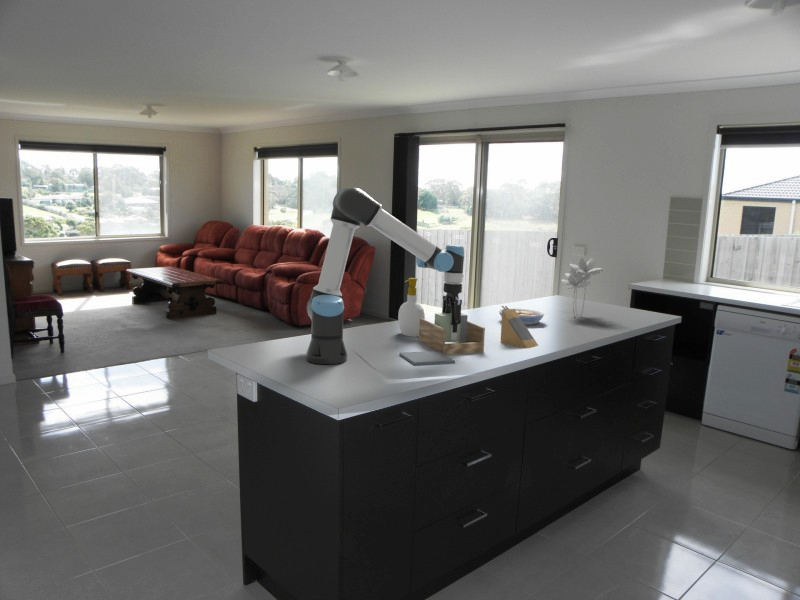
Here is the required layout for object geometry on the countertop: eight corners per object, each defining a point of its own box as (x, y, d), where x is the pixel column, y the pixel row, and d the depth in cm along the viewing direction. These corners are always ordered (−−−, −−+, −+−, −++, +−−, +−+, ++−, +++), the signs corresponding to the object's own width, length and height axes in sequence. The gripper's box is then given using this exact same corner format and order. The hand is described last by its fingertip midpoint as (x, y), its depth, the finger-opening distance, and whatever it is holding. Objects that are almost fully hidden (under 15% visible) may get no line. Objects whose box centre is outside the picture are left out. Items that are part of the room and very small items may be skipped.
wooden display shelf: (442, 354, 233) (443, 329, 232) (418, 341, 256) (419, 318, 255) (483, 352, 239) (484, 327, 238) (456, 339, 262) (457, 317, 261)
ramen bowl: (548, 331, 288) (550, 315, 287) (501, 330, 289) (502, 313, 287) (538, 322, 313) (539, 307, 312) (494, 321, 313) (495, 305, 312)
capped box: (439, 342, 242) (440, 315, 241) (433, 339, 248) (434, 313, 246) (465, 341, 247) (467, 315, 245) (459, 338, 252) (461, 312, 251)
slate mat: (414, 365, 215) (414, 362, 215) (399, 355, 230) (399, 352, 229) (454, 362, 220) (454, 360, 220) (437, 353, 235) (437, 350, 235)
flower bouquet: (547, 313, 323) (554, 303, 303) (566, 258, 330) (575, 245, 310) (578, 324, 321) (588, 315, 300) (597, 268, 328) (608, 256, 308)
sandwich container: (529, 351, 245) (531, 315, 243) (499, 344, 257) (501, 309, 254) (541, 348, 251) (543, 313, 249) (512, 342, 262) (514, 308, 260)
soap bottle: (391, 334, 268) (393, 277, 264) (405, 332, 274) (407, 276, 270) (414, 340, 258) (416, 280, 254) (428, 337, 264) (431, 279, 260)
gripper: (471, 285, 236) (468, 342, 240) (451, 280, 254) (448, 333, 257) (454, 285, 234) (451, 343, 237) (435, 280, 251) (432, 334, 255)
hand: (449, 338), depth 247 cm, fingers closed on capped box, 6 cm apart
